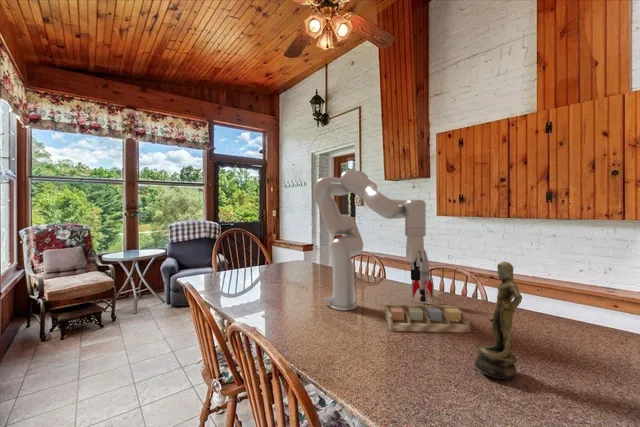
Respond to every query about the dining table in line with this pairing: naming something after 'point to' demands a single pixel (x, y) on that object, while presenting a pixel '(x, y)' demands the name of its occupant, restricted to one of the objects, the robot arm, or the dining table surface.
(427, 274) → the toy
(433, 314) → the key slate
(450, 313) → the key mustard
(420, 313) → the key sage
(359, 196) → the robot arm
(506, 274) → the statue
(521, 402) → the dining table surface
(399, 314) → the key terracotta
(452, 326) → the tray
